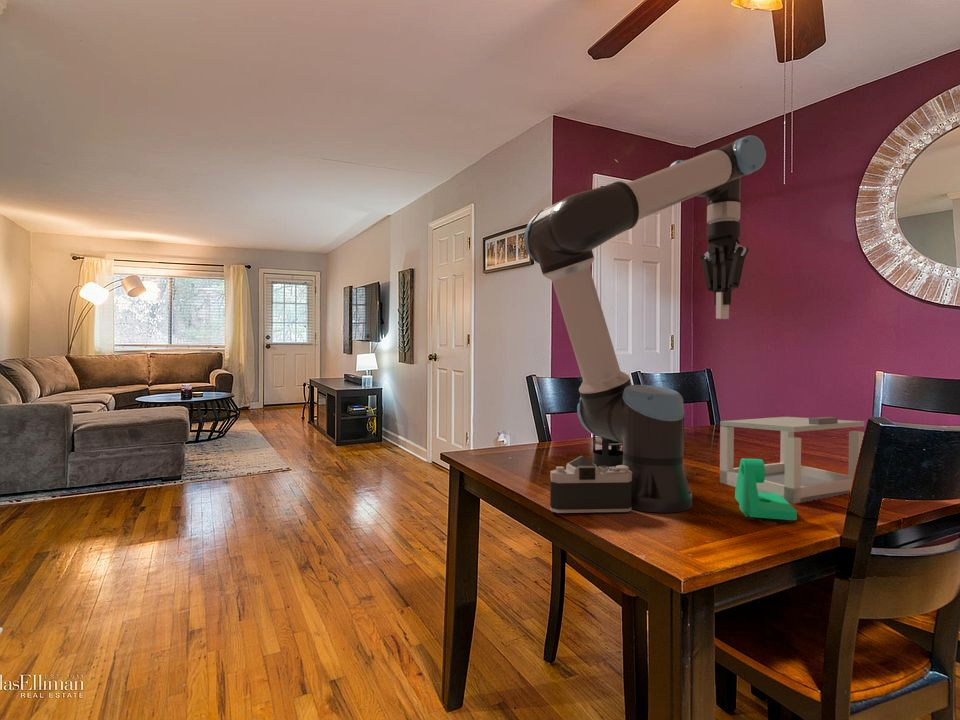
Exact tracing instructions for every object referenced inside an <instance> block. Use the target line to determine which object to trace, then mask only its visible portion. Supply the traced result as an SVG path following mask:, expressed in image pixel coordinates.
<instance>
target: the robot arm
mask: <svg viewBox="0 0 960 720" xmlns="http://www.w3.org/2000/svg"><path fill="white" fill-rule="evenodd" d="M766 159H767V150H766V148H765V144H764V143H763V141H762V140H761V139H760V137H758V136H756V135H750V134H749V135H746V136H743V137H741V138H738V139H735V141H733V142H730V143H728V144H725V145H722V146H721V147H718V148H715V149H712V150H709V151H707V152H703V153H702V154H699V155H696V156H694V157H692V158H688V159H678V160H676V161H674V162H672V163H671V164H670V165H669V166H668V167H665V168H663V169H660V170H657V171H655V172H653V173H650V174H647V175H645V176H641V177H640V178H637V179H635V180H632V181H629V182H625V181H621V180H617V181H615V182H612V183H609V184H607V185H603V186H600V187H599V186H598V187H596V188H593V189H588V190H584V191H580V192H578V193H574V194H571V195H569V196H566V197H564V198H563V199H561V200H559V201H557V202H555V203H554V204H551V205H550V206H548V207H545V208H543V209H541V210H540V211H539V212H537V213H536V214H535V215H534V216H533V217H532V218H531V219H530V220H529V221H528V224H527V225H526V227H525V230H524V236H523V243H524V249H525V251H526V253H527V255H528V257H530V259H531V260H532V261H534V262H536V263H537V264H539V268H540V270H541V273H542V276H543V277H545V278H547V279H548V280H550V281H551V282H552V284H553V289H554V292H555V294H556V298H557V302H558V305H559V307H560V312H561V313H562V314H561V315H562V318H563V320H564V324H565V327H566V330H567V334H568V336H569V340H570V343H571V346H572V347H571V348H572V350H573V353H574V356H575V359H576V362H577V366H578V368H579V372H580V375H581V379H582V382H581V384H580V386H579V387H578V392H579V395H580V397H579V401H578V403H577V408H576V410H577V411H576V412H577V417H578V419H579V422H580V424H581V425H582V427H583V428H584V429H585V430H586V431H587V432H588V433H590V434H592V435H593V434H594V435H595V437H598V438H603V439H610V440H613V441H617V442H621V443H623V445H622V449H623V450H622V451H623V464H622V465H625V466H628V467H629V470H630V471H631V472H632V497H631V504H632V507H631V510H635V511H637V510H638V511H641V512H649V513H661V514H663V513H664V514H665V513H666V514H668V513H673V514H674V513H682V512H685V511H688V510H690V509H691V508H692V507H693V493H692V490H691V489H690V485H689V482H688V478H687V474H686V470H685V468H684V444H685V443H684V442H685V440H684V439H685V438H684V437H685V413H686V412H685V407H684V398H683V396H682V394H680V392H678V390H677V391H676V390H674V389H671V388H669V387H665V386H656V385H652V384H651V385H648V384H632V381H631V378H630V375H629V374H628V373H625V372H624V371H622V370H621V367H620V365H619V362H618V359H617V355H616V351H615V349H614V345H613V342H612V338H611V336H610V332H609V331H610V330H609V329H608V325H607V322H606V318H605V315H604V312H603V308H602V304H601V302H600V299H599V295H598V291H597V289H596V285H595V282H594V279H593V275H592V271H591V267H592V264H593V262H594V260H595V256H594V253H593V250H594V249H595V248H597V247H599V246H601V245H603V244H604V243H606V242H607V241H609V240H611V239H613V238H614V237H617V236H618V235H620V234H622V233H624V232H627V231H628V230H631V229H633V228H634V227H636V225H637V224H638V222H639V221H640V220H642V219H645V218H646V217H648V216H651V215H653V214H656V213H659V212H660V211H662V210H666V209H667V208H670V207H672V206H674V205H677V204H679V203H681V202H684V201H686V200H690V199H691V198H693V197H699V198H706V224H708V225H707V226H706V239H707V241H708V246H707V251H706V252H705V253H704V254H700V255H699V260H700V262H701V264H702V268H703V273H704V278H705V284H706V288H707V291H709V292H713V295H714V296H713V297H714V300H713V301H714V302H713V304H714V306H715V319H716V320H730V305H732V292H733V290H735V289H738V288H739V287H740V282H741V277H742V273H743V269H744V265H745V264H744V263H745V261H746V260H745V258H746V256H747V254H748V252H749V251H750V250H749V249H750V248H749V247H747V246H742V245H741V243H740V241H739V240H740V239H739V238H740V237H741V222H740V220H741V193H742V192H741V189H742V177H745V176H748V175H751V174H752V173H754V172H756V171H759V170H760V169H761V168H762V167H763V165H764V164H765V162H766Z"/></svg>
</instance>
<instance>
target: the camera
mask: <svg viewBox="0 0 960 720" xmlns="http://www.w3.org/2000/svg"><path fill="white" fill-rule="evenodd" d="M549 475H550V476H549V483H550V485H549V486H550V490H549V491H550V494H549V495H550V496H549V498H550V499H549V509H550V510H551V512H554V513H557V514H569V513H570V514H573V513H578V514H579V513H581V514H582V513H586V514H587V513H627V512H631V511H632V508H631V507H632V504H631V497H632V472H631V471H630V470H629V467H628V466H625V465H618V466H616V467H609V469H608V467H607V466H599V467H597V466H596V465H595V464H593V463H592V461H591V460H589V459H587V458H586V457H584V456H583V455H580V456H578V457H577V458H574V459H573V460H571V461H569V462H567V463H566V465H565V466H561V465H560V466H558V465H557V466H555V469H553V470H550V474H549Z"/></svg>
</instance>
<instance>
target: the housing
mask: <svg viewBox="0 0 960 720" xmlns="http://www.w3.org/2000/svg"><path fill="white" fill-rule="evenodd" d="M719 426H720V425H719ZM719 430H720V433H719V483H720V484H724V485H727V486H730V487H734V488H736V483H737V478H738V472H739V467H740V466H739V467H734V466H735V465H734V460H735V459H734V457H735V455H734V454H735V453H734V452H735V451H734V450H735V449H734V447H735V446H734V445H735V443H734V442H735V427H732V426H720V427H719ZM864 432H865V431H859V430H849V431H848V467H847V469H848V472H847V473H848V474H844V473H839V472H834V471H831V470H830V471H829V470H825V469H820V468H816V467H812V466H807V465H803V464H802V437H797V436H795V432H788V431H780V449H779V450H780V453H779V454H780V455H779V456H780V458H779V459H780V461H779V462H773V463H766V464H765V463H764V466H765V480H764V482H763V483H756V484H757V491H758V492H763V493H775V494H779V495H780V496H781V497H782V498H783V499H785V500H786V501H787V502H788V503H789V504H793V505H794V504H795V505H796V504H803V503H807V501H808V502H813V500H815V501H818V499H820V500H823V499H822V498H826V499H829V498H828V497H831V498H834V497H833V496H836V497H839V496H838V495H842V496H844V495H843V494H847V495H850V494H849V493H850V489H851V486H852V482H853V477H854V473H855V469H856V465H857V461H858V457H859V453H860V448H861V444H862V440H863V436H864Z"/></svg>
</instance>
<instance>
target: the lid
mask: <svg viewBox="0 0 960 720" xmlns="http://www.w3.org/2000/svg"><path fill="white" fill-rule="evenodd" d="M719 422H720V423H719V426H730V427H734V428H745V429H755V430H756V429H758V430H768V431H778V432H779V431H780V432H781V431H788V432H794V433H798V432H811V431H812V432H813V431H823V430H833V429H847V428H856V427H857V428H859V427H866V426H865V422H866V421H863V420H849V419H848V420H844V419H838V417H837V416H836V417H835V416H834V417H833V416H820V417H797V416H777V417H776V416H775V417H762V418H760V417H759V418H747V419H745V418H744V419H735V420H734V419H733V420H719Z"/></svg>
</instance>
